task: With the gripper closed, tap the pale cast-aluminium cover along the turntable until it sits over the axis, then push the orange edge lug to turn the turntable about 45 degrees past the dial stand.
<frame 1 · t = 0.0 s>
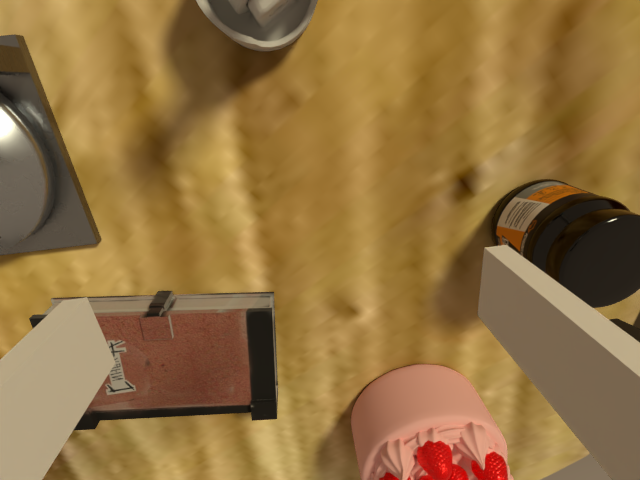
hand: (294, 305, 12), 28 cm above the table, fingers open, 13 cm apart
book: (176, 343, 47), on the table
dial stand: (21, 62, 32), resting on base plate
cake: (413, 409, 55), on the table
supplement container: (528, 218, 43), on the table
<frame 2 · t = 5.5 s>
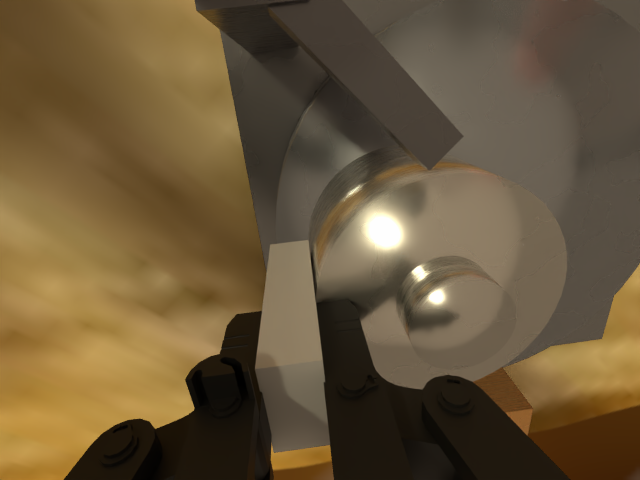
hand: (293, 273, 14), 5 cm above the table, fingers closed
base plate: (447, 203, 19), on the table
turntable: (488, 235, 15), point 4 cm above the table, hinge at 0.0°
dial stand: (271, 25, 15), resting on base plate
cover: (397, 236, 16), point 3 cm above the table, touching gripper
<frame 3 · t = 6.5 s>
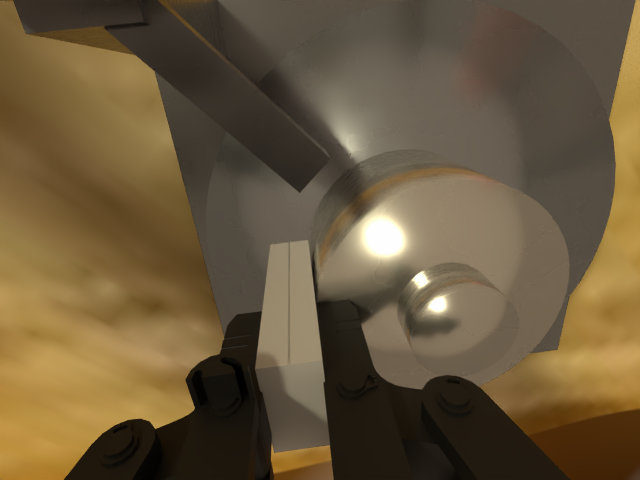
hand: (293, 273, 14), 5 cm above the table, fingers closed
base plate: (393, 214, 19), on the table
turntable: (421, 248, 15), point 4 cm above the table, hinge at 0.0°, touching cover
dial stand: (202, 35, 15), resting on base plate
cover: (399, 240, 16), point 3 cm above the table, touching gripper, turntable
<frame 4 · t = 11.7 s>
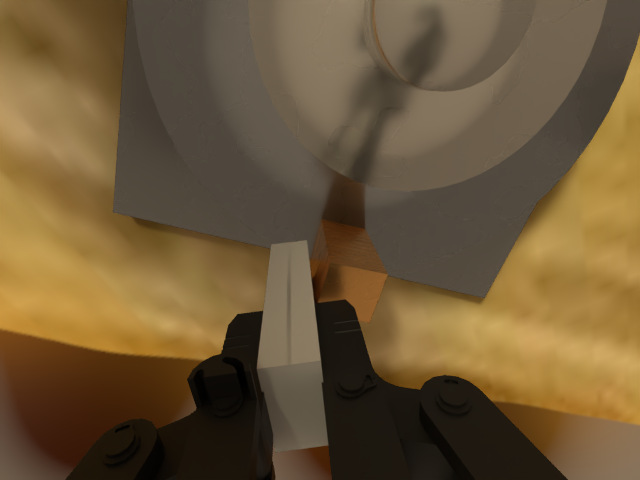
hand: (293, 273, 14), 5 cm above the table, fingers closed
base plate: (377, 53, 16), on the table
turntable: (406, 43, 12), point 4 cm above the table, hinge at 1.8°, touching cover, gripper
cover: (382, 40, 12), point 3 cm above the table, touching turntable
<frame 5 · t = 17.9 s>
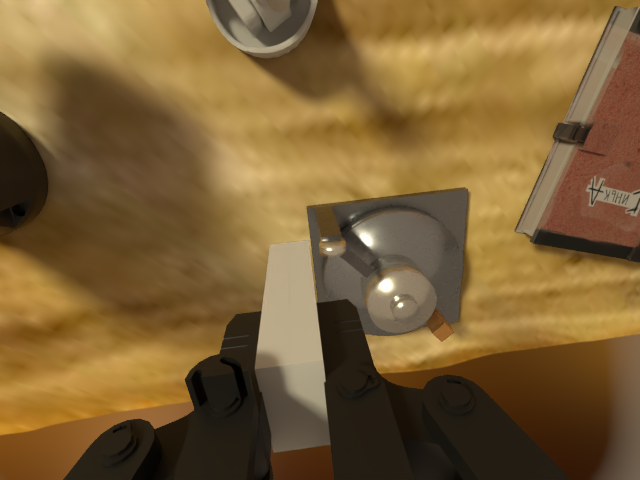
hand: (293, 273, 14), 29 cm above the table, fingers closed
base plate: (387, 266, 48), on the table
turntable: (396, 283, 44), point 4 cm above the table, hinge at 39.2°, touching cover
book: (610, 143, 44), on the table
dial stand: (323, 211, 44), resting on base plate
cover: (390, 282, 45), point 3 cm above the table, touching turntable
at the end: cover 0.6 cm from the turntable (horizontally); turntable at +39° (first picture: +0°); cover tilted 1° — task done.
